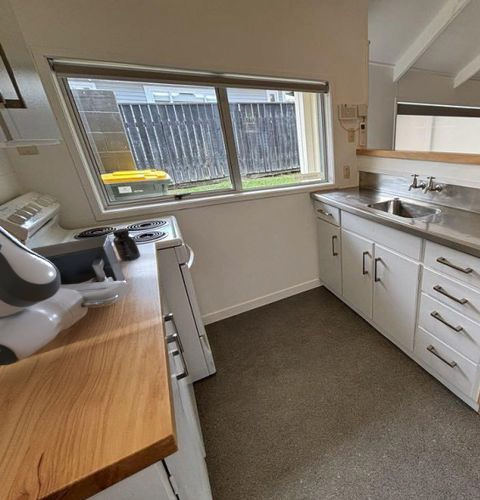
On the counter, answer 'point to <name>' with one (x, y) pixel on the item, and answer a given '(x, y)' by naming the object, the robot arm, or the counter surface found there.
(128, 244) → the supplement bottle
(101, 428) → the counter surface
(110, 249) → the cupboard
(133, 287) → the counter surface
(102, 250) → the cupboard door
